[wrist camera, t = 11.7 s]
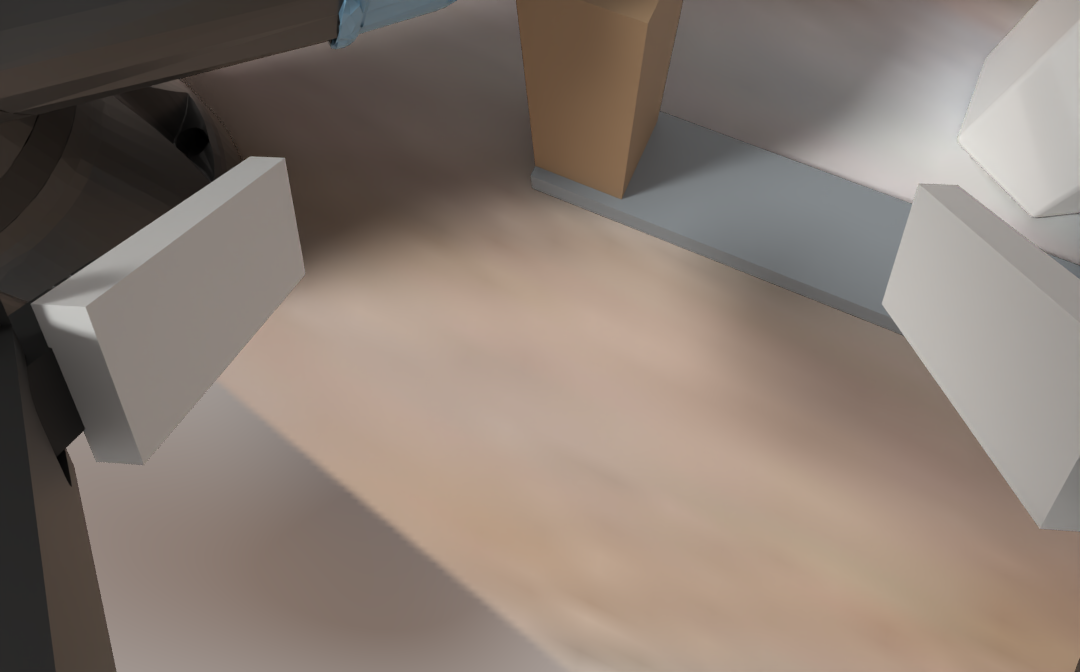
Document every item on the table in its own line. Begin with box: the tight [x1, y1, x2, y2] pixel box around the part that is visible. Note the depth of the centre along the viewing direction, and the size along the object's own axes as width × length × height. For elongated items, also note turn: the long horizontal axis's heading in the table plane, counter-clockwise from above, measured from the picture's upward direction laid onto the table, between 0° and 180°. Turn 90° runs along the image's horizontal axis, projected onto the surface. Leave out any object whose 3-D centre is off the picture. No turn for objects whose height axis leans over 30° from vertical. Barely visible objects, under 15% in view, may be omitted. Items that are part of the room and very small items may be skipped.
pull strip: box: [516, 0, 1080, 335], centre depth 25 cm, size 26×18×12 cm
